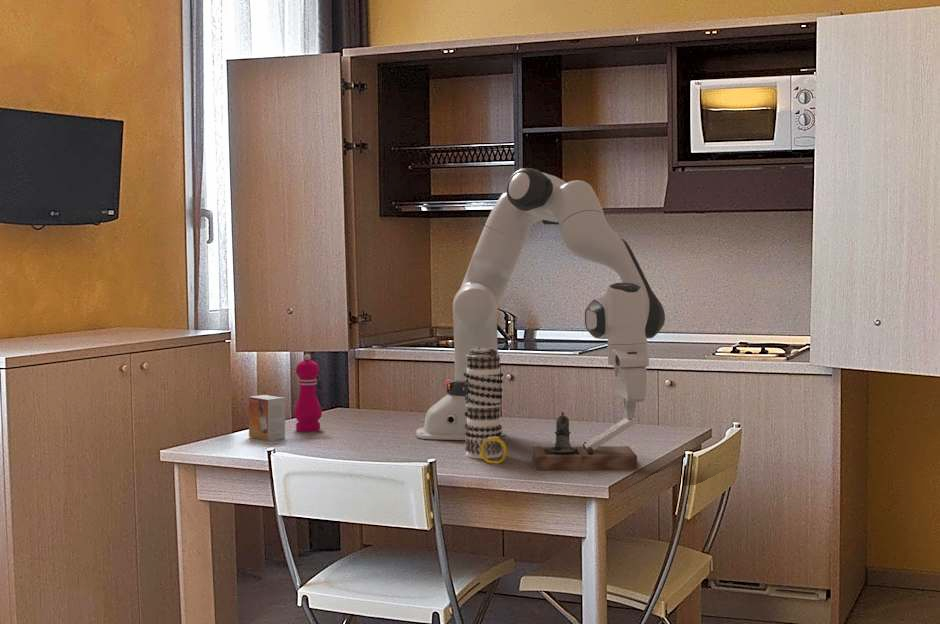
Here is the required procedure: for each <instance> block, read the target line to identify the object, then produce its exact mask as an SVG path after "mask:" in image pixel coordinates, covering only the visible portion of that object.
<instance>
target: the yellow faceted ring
mask: <svg viewBox="0 0 940 624" xmlns="http://www.w3.org/2000/svg"><path fill="white" fill-rule="evenodd" d="M488 441H497V442H499V443H500V444H501V445H500V446H501V447H502V450H503V455H502V456H501V459H500V460H491V459H490V458H487V457H486V455H485V452H484V447H485V445H486V443H487V442H488ZM507 447H508V446H507V445H506V444H505V442H504V441H503V439H501V436H499V437H498V436H491V437H488V438H487V440H486V441H484V442H483V444H482V446H481V455H482V458H483V461H485V463H487V464H498V465H499V464H501V463H503V462H504V461H505V460H506V458H507V456H508V448H507Z"/></svg>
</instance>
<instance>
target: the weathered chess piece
mask: <svg viewBox="0 0 940 624" xmlns="http://www.w3.org/2000/svg"><path fill="white" fill-rule="evenodd" d="M555 420H556V421H555V422H556V423H555V427H556V431H554V434H555V444H554V446H552V447H553V448H551V449H549V450H550V451H551V455H574V451H576V449H574V448H572V447H573V446H571V442H570V435H571V431H570V420H569V417H567V416H565V413H564V412H563V411H561V415H560V416H558V417H556V419H555Z"/></svg>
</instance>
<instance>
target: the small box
mask: <svg viewBox="0 0 940 624" xmlns="http://www.w3.org/2000/svg"><path fill="white" fill-rule="evenodd" d="M248 437H249V438H254V439H259V440H261V441H266V442H271V441H276V440H277V441H278V440H283V439H286V398H285V397H283V396H281V397H280V396H274V395H269V394H268V395H267V394H261V395H260V394H259V395H252V396H248Z"/></svg>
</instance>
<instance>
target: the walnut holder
mask: <svg viewBox="0 0 940 624" xmlns="http://www.w3.org/2000/svg"><path fill="white" fill-rule="evenodd" d="M587 442H588V441H584V442H583V444H582V445H581V446H580V445H579V446H571V447H572V448H574V449H576V451H574V455H551V451H550V450H549V449H551V448H553V447H554V446H532V462H533V464H534V466H535V469H536V471H593V470H594V471H606V470H608V471H610V470H612V471H621V470H622V471H623V470H624V471H628V470H630V471H632V470H635V471H637V470H638V455H637V454H636V453H635V452H634V451H633V449H632V448H631V447H630V446H628V445H626V446H625V445H623V446H622V445H621V446H620V445H619V446H618V445H617V446H616V445H613V446H612V445H611V446H610V445H609V446H608V445H607V446H604V445H603V446H602V445H601V446H599V447H598V448H596V449H595V450H593V449H592V448H588V449H586V447H585V446H584V444H585V443H587Z"/></svg>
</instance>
